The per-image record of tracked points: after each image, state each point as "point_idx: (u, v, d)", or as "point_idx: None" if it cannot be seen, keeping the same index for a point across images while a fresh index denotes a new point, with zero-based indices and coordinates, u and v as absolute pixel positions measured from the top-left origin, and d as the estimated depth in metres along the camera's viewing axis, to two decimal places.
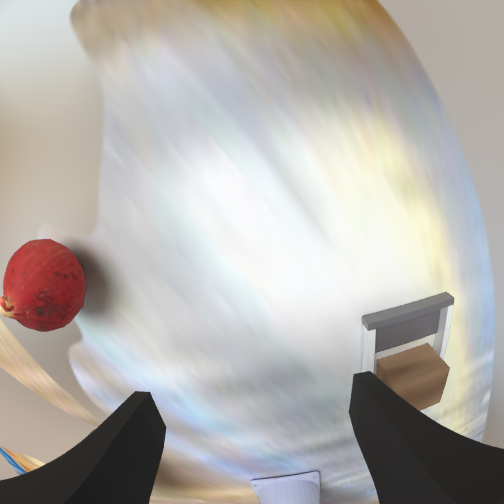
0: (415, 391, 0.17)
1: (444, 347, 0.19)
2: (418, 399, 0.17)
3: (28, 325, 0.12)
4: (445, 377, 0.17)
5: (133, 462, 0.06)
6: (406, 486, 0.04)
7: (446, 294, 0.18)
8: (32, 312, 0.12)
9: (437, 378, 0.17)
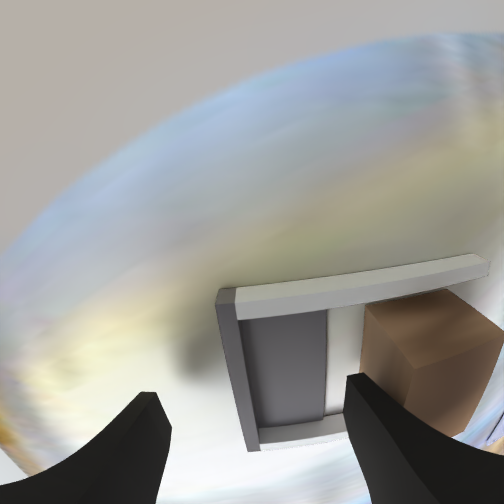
0: None
1: (366, 292, 0.08)
2: (452, 406, 0.07)
3: None
4: (439, 366, 0.06)
5: (140, 463, 0.06)
6: (397, 489, 0.04)
7: None
8: None
9: (424, 392, 0.06)
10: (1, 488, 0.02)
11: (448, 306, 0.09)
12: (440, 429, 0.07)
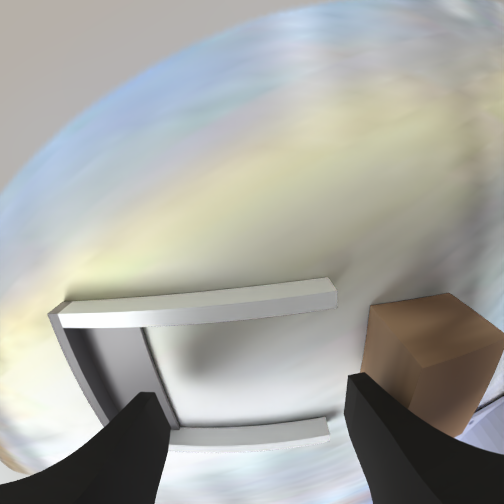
0: None
1: (152, 317, 0.09)
2: (454, 408, 0.07)
3: None
4: (445, 366, 0.06)
5: (139, 463, 0.06)
6: (399, 489, 0.04)
7: None
8: None
9: (429, 391, 0.06)
10: (0, 487, 0.02)
11: (451, 309, 0.09)
12: None
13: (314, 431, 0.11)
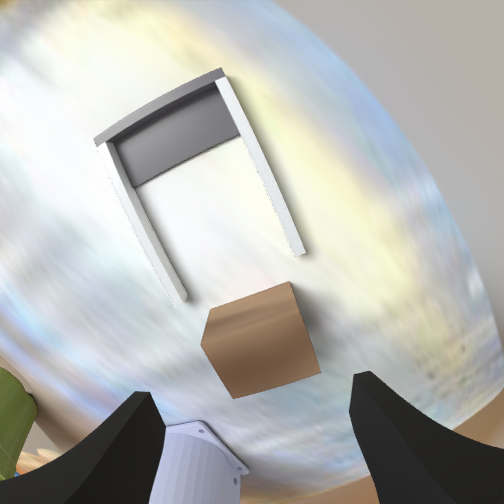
0: (246, 352, 0.13)
1: (255, 148, 0.13)
2: (264, 366, 0.14)
3: None
4: (301, 329, 0.13)
5: (133, 462, 0.06)
6: (406, 486, 0.04)
7: None
8: None
9: (281, 331, 0.13)
10: None
11: None
12: (240, 372, 0.14)
13: (179, 291, 0.16)
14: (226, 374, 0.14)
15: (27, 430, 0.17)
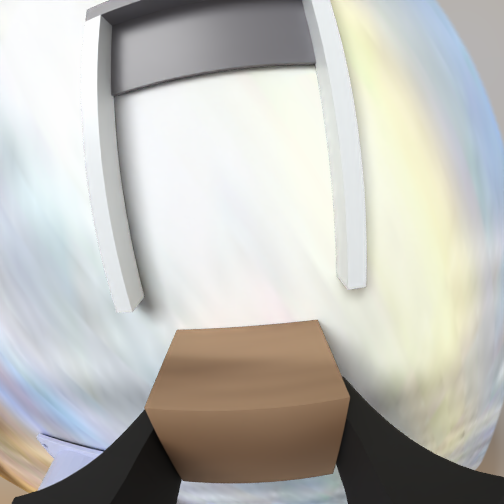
0: (226, 438, 0.06)
1: (342, 85, 0.07)
2: (250, 459, 0.06)
3: None
4: (337, 422, 0.06)
5: (162, 466, 0.06)
6: (368, 499, 0.04)
7: None
8: None
9: (303, 420, 0.06)
10: (19, 500, 0.02)
11: None
12: (206, 458, 0.06)
13: (131, 288, 0.08)
14: (181, 455, 0.06)
15: None
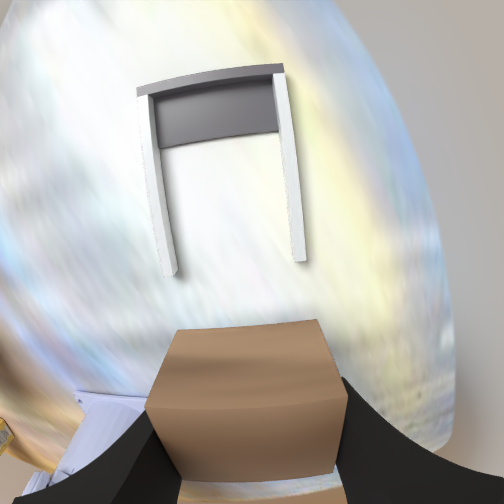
0: (225, 437, 0.06)
1: (290, 148, 0.13)
2: (249, 458, 0.07)
3: None
4: (336, 421, 0.06)
5: (162, 466, 0.06)
6: (367, 499, 0.04)
7: None
8: None
9: (302, 419, 0.06)
10: (19, 500, 0.02)
11: None
12: (205, 457, 0.07)
13: (172, 262, 0.15)
14: (181, 454, 0.07)
15: None
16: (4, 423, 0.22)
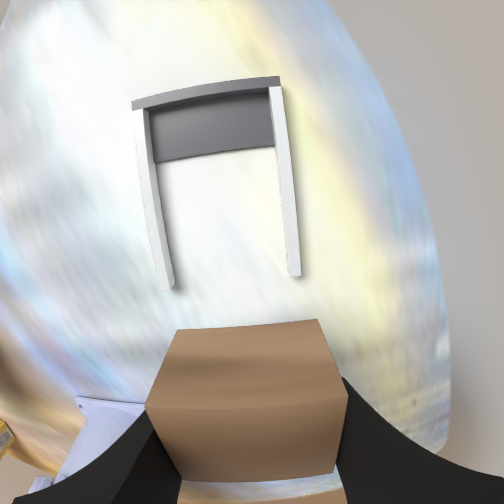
0: (226, 436, 0.06)
1: (286, 163, 0.14)
2: (249, 458, 0.07)
3: None
4: (336, 421, 0.06)
5: (162, 466, 0.06)
6: (367, 499, 0.04)
7: None
8: None
9: (302, 419, 0.06)
10: (19, 500, 0.02)
11: None
12: (206, 457, 0.07)
13: (169, 276, 0.15)
14: (181, 454, 0.07)
15: None
16: (5, 425, 0.22)
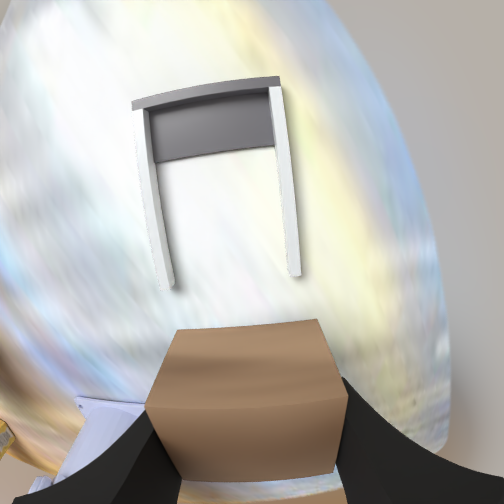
0: (226, 436, 0.06)
1: (286, 163, 0.14)
2: (249, 458, 0.07)
3: None
4: (336, 421, 0.06)
5: (162, 466, 0.06)
6: (367, 499, 0.04)
7: None
8: None
9: (302, 419, 0.06)
10: (19, 500, 0.02)
11: None
12: (206, 457, 0.07)
13: (169, 276, 0.15)
14: (181, 454, 0.07)
15: None
16: (5, 425, 0.22)
